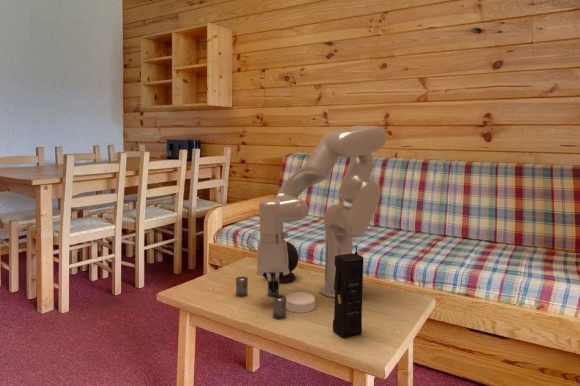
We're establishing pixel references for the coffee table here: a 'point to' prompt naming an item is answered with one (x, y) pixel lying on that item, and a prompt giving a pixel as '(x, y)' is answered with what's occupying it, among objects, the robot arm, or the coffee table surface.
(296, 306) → the coaster
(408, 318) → the coffee table surface
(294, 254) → the black ball on stand
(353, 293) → the portable radio
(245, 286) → the posts
